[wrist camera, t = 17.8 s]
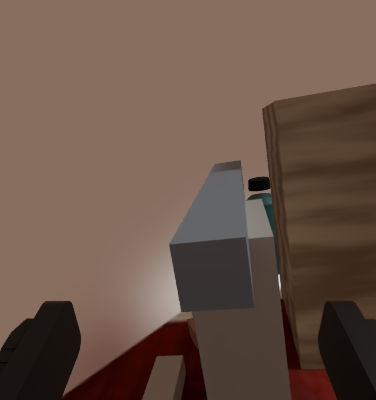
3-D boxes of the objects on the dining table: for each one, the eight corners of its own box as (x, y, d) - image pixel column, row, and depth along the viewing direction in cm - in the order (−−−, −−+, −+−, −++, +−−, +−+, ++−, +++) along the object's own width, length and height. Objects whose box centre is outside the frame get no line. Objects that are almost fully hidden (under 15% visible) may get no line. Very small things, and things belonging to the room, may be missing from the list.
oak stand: (390, 367, 37) (382, 82, 30) (301, 369, 39) (275, 100, 32) (341, 289, 54) (329, 97, 48) (281, 293, 56) (262, 108, 49)
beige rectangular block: (171, 451, 32) (166, 427, 31) (138, 450, 32) (132, 426, 32) (186, 375, 41) (182, 355, 41) (161, 375, 42) (156, 356, 41)
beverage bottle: (274, 287, 59) (262, 181, 54) (246, 278, 64) (233, 181, 60) (293, 273, 63) (284, 174, 58) (266, 265, 68) (255, 174, 63)
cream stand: (298, 471, 28) (273, 236, 23) (219, 468, 29) (180, 245, 24) (280, 369, 39) (261, 198, 35) (224, 370, 41) (198, 206, 36)
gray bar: (254, 307, 15) (245, 236, 14) (181, 311, 15) (169, 244, 15) (243, 185, 43) (240, 160, 43) (218, 188, 44) (214, 163, 43)
